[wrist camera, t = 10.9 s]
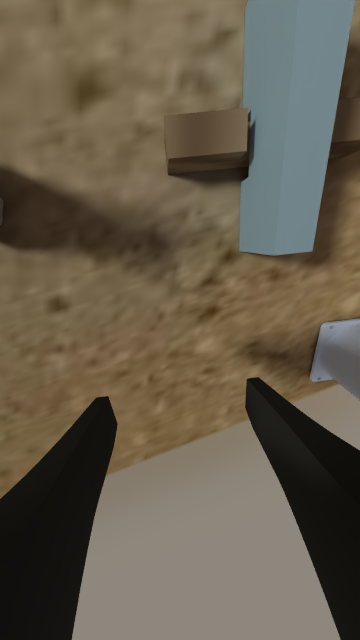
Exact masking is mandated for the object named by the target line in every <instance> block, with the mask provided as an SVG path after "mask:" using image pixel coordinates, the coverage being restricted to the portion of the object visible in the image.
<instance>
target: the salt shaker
mask: <svg viewBox="0 0 360 640" xmlns="http://www.w3.org/2000/svg"><path fill="white" fill-rule="evenodd" d="M3 202H4V201H3V199H2V198H1V197H0V226H1V225H2V220H3Z"/></svg>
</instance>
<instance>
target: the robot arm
mask: <svg viewBox="0 0 360 640" xmlns="http://www.w3.org/2000/svg"><path fill="white" fill-rule="evenodd" d="M331 325H332V326H331ZM330 326H331V327H330ZM333 379H334V380H336V381H337V382H338V383H339V384H340V385H342V386H343V387H344V388H345V389H347V390H348V391H349V392H350V393H351V394H353V395H354V396H355V397H356V398H358V399H359V400H360V318H358V319H350V320H341V321H333V322H326V323H323V324H322V325H321V328H320V333H319V337H318V342H317V346H316V351H315V355H314V360H313V364H312V369H311V373H310V380H311V381H313V382H317V381H325V380H333ZM245 408H246V411H247V414H248V416H249V419H250V421H251V424H252V427H253V429H254V431H255V433H256V435H257V437H258V439H259V441H260V443H261V445H262V447H263V449H264V451H265V453H266V455H267V457H268V459H269V461H270V463H271V465H272V467H273V469H274V471H275V473H276V475H277V477H278V479H279V481H280V484H281V486H282V488H283V490H284V492H285V495H286V497H287V500H288V502H289V505H290V507H291V509H292V512H293V514H294V516H295V519H296V522H297V524H298V526H299V529H300V532H301V534H302V537H303V540H304V542H305V545H306V547H307V550H308V552H309V555H310V557H311V560H312V562H313V565H314V568H315V571H316V573H317V576H318V578H319V581H320V584H321V587H322V589H323V592H324V594H325V597H326V600H327V602H328V605H329V608H330V611H331V614H332V617H333V619H334V622H335V625H336V628H337V630H338V633H339V636H340V639H341V640H360V450H358V449H356V448H355V447H353V446H352V445H350V444H348V443H347V442H345V441H343V440H342V439H340V438H339V437H337V436H336V435H334V434H333V433H331V432H330V431H328V430H327V429H325V428H324V427H322V426H321V425H319V424H318V423H317V422H315V421H314V420H312V419H311V418H310V417H308V416H307V415H305V414H304V413H303V412H301V411H300V410H299V409H297V408H296V407H295V406H293V405H292V404H291V403H290V402H288V401H287V400H286V399H285V398H283V397H282V396H281V395H280V394H278V393H277V392H276V391H275V390H273V389H272V388H271V387H270V386H269V385H267V384H266V383H265V382H264V381H262V380H261V379H260V378H259V377H257V378H249V379H247V385H246V404H245ZM116 431H117V421H116V418H115V415H114V412H113V409H112V406H111V403H110V400H109V397H108V396H106V397H98V398H96V399H95V400H94V401H93V402H92V403H91V404H90V405H89V407H88V408H87V409H86V410H85V411H84V412H83V414H82V415H81V416H80V417H79V418H78V419H77V421H76V422H75V423H74V424H73V425H72V426H71V428H70V429H69V430H68V431H67V432H66V433H65V434H64V435H63V437H62V438H61V439H60V440H59V441H58V442H57V443H56V444H55V445H54V446H53V447H52V448H51V450H50V451H49V452H48V453H47V454H46V455H45V456H44V457H43V458H42V459H41V460H40V461H39V462H38V463H37V464H36V465H35V466H34V467H33V468H32V469H31V470H30V471H29V472H28V473H27V474H26V475H25V476H24V477H23V478H22V479H21V480H20V481H19V482H18V483H17V484H16V485H15V486H14V487H13V488H12V489H11V490H10V491H9V492H8V493H6V494H5V495H4V496H3V497H2V498H1V499H0V640H72V633H73V628H74V622H75V616H76V611H77V605H78V599H79V593H80V587H81V582H82V576H83V571H84V566H85V561H86V555H87V550H88V545H89V540H90V535H91V531H92V526H93V520H94V516H95V512H96V508H97V504H98V501H99V497H100V494H101V490H102V486H103V483H104V480H105V476H106V473H107V469H108V466H109V462H110V458H111V455H112V451H113V447H114V442H115V437H116Z"/></svg>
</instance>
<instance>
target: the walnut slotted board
mask: <svg viewBox="0 0 360 640" xmlns="http://www.w3.org/2000/svg"><path fill="white" fill-rule="evenodd" d="M250 123H251V122H248V108H241V109H231V110H220V111H210V112H199V113H189V114H178V115H167V116H164V136H165V150H166V160H167V170H168V175H171V174H181V173H191V172H200V171H210V170H220V169H230V168H240V167H249V150H250ZM359 149H360V97H357V98H347V99H338V104H337V110H336V116H335V122H334V128H333V133H332V139H331V145H330V151H329V157H328V158H338V157H345V156H347V155H349V154H351V153H353V152H355V151H357V150H359Z"/></svg>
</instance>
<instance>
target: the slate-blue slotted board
mask: <svg viewBox="0 0 360 640" xmlns="http://www.w3.org/2000/svg"><path fill="white" fill-rule="evenodd" d="M354 4H355V0H249V1H248V4H247V7H246V10H245V37H244V78H243V108H248V122H251V123H250V150H249V177H247V178H246V179H245V180H244V181H242V182H241V201H240V242H239V251H242V252H250V253H258V254H266V255H274V256H275V255H284V254H293V253H302V252H311V251H313V245H314V239H315V233H316V227H317V221H318V215H319V210H320V204H321V198H322V192H323V186H324V180H325V174H326V169H327V163H328V157H329V151H330V145H331V139H332V133H333V128H334V122H335V116H336V110H337V104H338V98H339V92H340V86H341V81H342V75H343V69H344V63H345V57H346V51H347V45H348V40H349V34H350V28H351V22H352V16H353V10H354Z"/></svg>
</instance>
